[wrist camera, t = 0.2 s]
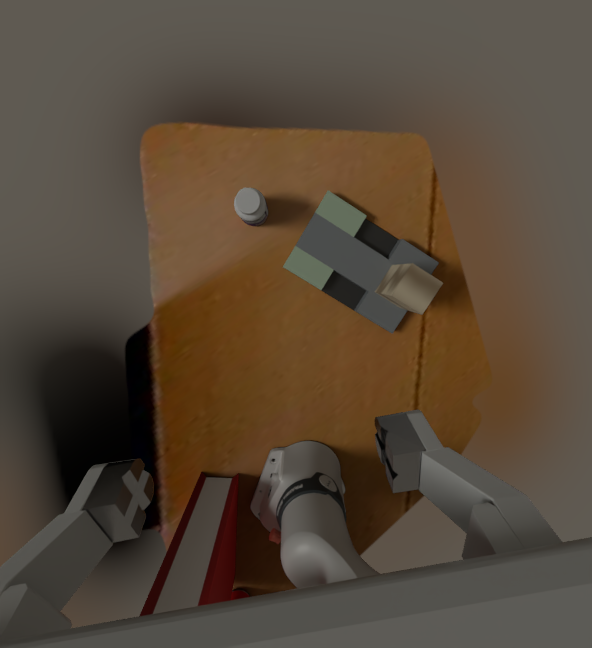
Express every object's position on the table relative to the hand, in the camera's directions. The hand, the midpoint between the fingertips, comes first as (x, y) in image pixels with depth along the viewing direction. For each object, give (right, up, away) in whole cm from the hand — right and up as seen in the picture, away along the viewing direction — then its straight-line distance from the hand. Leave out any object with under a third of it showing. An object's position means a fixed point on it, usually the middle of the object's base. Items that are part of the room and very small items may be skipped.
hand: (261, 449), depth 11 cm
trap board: (+14, +16, +51) cm, 55 cm away
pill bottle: (-7, +26, +49) cm, 56 cm away
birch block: (+20, +11, +49) cm, 55 cm away
